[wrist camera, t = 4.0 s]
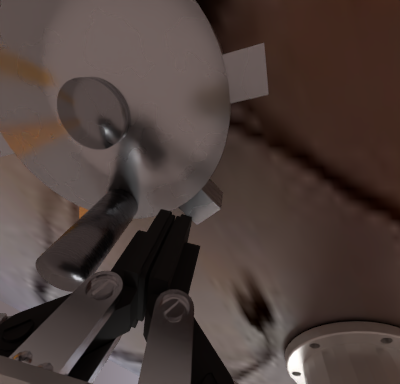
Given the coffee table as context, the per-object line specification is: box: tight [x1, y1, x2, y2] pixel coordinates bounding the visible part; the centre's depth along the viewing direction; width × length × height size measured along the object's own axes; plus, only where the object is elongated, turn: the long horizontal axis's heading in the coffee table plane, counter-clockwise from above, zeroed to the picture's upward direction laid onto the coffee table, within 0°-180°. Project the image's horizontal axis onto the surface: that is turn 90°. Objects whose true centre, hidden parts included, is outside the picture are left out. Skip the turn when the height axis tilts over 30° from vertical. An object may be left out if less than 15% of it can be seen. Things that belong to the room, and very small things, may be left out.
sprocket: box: [0, 0, 269, 292], centre depth 9 cm, size 15×14×7 cm
